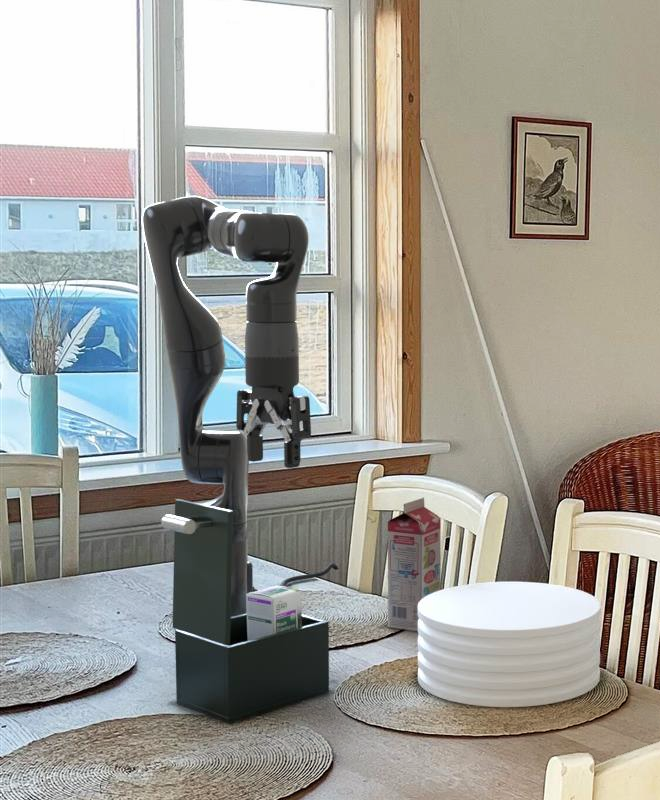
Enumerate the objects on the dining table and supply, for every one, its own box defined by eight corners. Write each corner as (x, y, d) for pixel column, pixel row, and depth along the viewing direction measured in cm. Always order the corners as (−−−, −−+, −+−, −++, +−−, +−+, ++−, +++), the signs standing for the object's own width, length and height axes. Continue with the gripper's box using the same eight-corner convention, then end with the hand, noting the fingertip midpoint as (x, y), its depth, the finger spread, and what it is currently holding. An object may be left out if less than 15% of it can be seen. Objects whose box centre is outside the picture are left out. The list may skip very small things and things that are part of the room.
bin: (276, 674, 208) (275, 606, 207) (329, 692, 201) (328, 621, 199) (176, 703, 195) (174, 630, 194) (229, 723, 187) (227, 647, 186)
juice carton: (387, 627, 235) (387, 502, 233) (407, 617, 241) (407, 495, 239) (421, 631, 233) (421, 505, 230) (440, 621, 239) (440, 499, 236)
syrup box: (275, 694, 197) (274, 597, 195) (246, 687, 200) (245, 591, 198) (303, 684, 202) (303, 589, 200) (275, 677, 205) (274, 583, 203)
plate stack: (623, 661, 218) (624, 591, 216) (561, 717, 191) (562, 638, 190) (464, 642, 227) (465, 575, 226) (385, 693, 201) (384, 617, 199)
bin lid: (179, 498, 192) (146, 502, 188) (233, 510, 185) (200, 514, 180) (177, 626, 194) (144, 632, 190) (230, 644, 186) (196, 650, 182)
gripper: (324, 354, 193) (325, 466, 195) (262, 348, 202) (264, 456, 204) (281, 357, 188) (283, 473, 190) (220, 351, 197) (222, 461, 198)
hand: (273, 464), depth 197 cm, fingers open, 8 cm apart
